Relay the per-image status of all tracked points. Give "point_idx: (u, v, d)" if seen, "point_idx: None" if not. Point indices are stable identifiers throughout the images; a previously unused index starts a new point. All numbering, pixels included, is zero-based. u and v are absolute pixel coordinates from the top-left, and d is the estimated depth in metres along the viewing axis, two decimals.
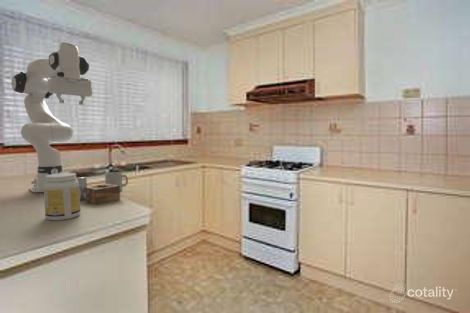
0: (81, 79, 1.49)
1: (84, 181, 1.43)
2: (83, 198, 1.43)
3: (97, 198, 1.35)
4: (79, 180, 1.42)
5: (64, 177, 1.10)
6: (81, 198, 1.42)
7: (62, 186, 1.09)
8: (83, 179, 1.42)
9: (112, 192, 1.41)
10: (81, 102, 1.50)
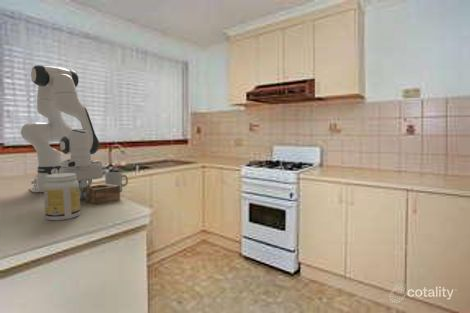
0: (92, 162, 1.47)
1: (84, 181, 1.43)
2: (83, 198, 1.43)
3: (97, 198, 1.35)
4: None
5: (64, 177, 1.10)
6: (81, 198, 1.42)
7: (62, 186, 1.09)
8: (83, 179, 1.42)
9: (112, 192, 1.41)
10: (88, 186, 1.45)
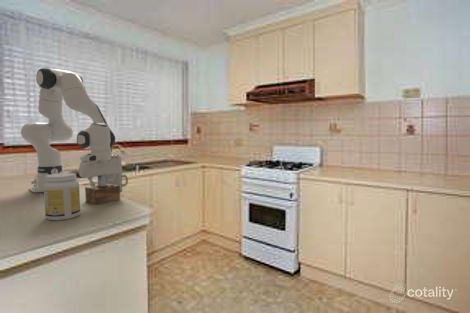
0: (111, 157, 1.45)
1: (104, 177, 1.40)
2: None
3: (97, 198, 1.35)
4: (99, 176, 1.39)
5: (64, 177, 1.10)
6: None
7: (62, 186, 1.09)
8: (103, 175, 1.40)
9: (112, 192, 1.41)
10: (111, 181, 1.45)
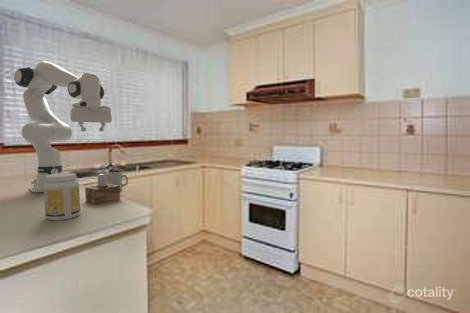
0: (101, 107, 1.54)
1: (104, 178, 1.40)
2: None
3: (97, 198, 1.35)
4: (99, 176, 1.39)
5: (64, 177, 1.10)
6: None
7: (62, 186, 1.09)
8: (103, 175, 1.40)
9: (112, 192, 1.41)
10: (101, 129, 1.55)
